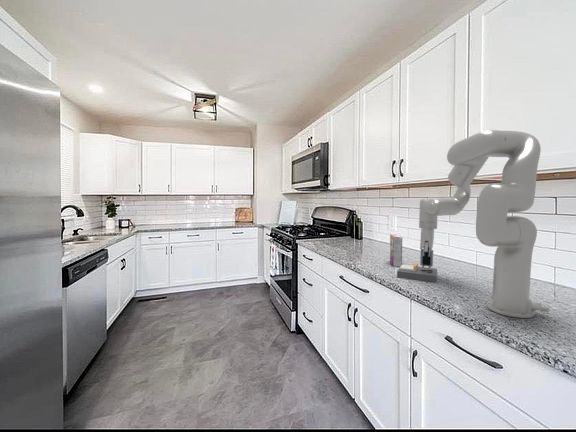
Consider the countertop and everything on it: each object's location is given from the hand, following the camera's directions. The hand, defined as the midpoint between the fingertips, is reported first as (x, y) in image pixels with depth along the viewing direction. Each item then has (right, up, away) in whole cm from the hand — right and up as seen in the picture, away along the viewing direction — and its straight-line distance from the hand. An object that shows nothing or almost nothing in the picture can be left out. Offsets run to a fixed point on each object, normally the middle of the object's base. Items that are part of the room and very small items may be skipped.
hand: (426, 263), depth 129 cm
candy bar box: (-5, -5, +24) cm, 26 cm away
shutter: (-7, -3, +4) cm, 9 cm away
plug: (0, -2, 0) cm, 2 cm away
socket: (-3, -7, +2) cm, 8 cm away
